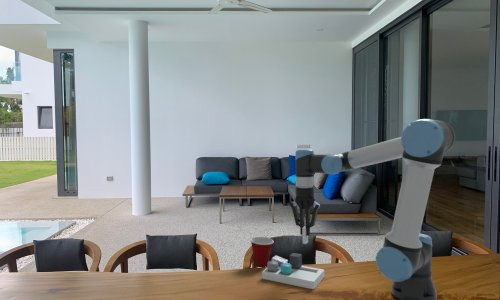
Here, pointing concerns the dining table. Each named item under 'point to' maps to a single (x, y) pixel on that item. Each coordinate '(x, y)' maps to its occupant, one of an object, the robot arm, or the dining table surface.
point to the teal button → (285, 269)
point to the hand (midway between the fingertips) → (305, 242)
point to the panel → (297, 276)
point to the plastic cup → (261, 250)
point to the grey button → (272, 266)
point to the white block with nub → (279, 260)
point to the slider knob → (296, 260)
